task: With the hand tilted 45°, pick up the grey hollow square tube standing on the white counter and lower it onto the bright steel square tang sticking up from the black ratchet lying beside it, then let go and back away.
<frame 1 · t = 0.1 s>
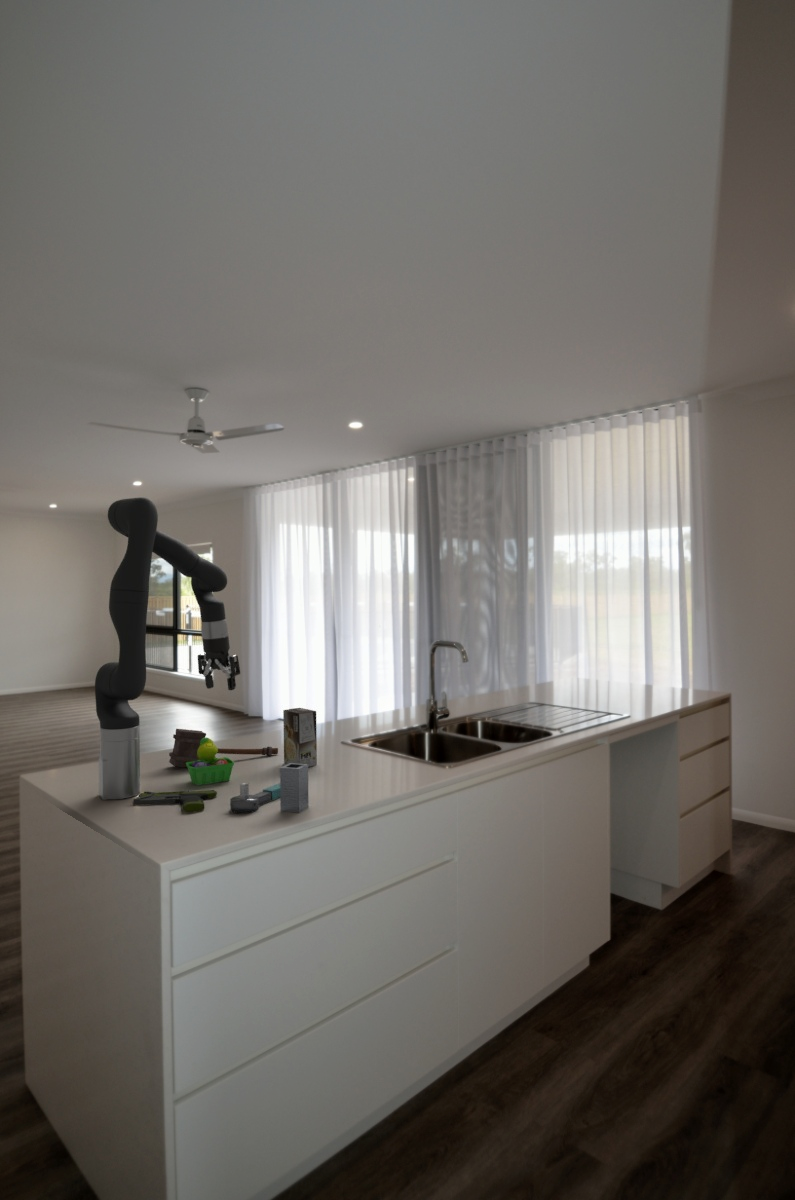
hand: (221, 688, 204), 22 cm above the countertop, tool pointing down, fingers open, 8 cm apart
grey hollow square tube: (294, 808, 160), on the countertop
fruit basket: (209, 781, 186), on the countertop
hammer: (226, 762, 208), on the countertop
ratchet: (244, 809, 160), on the countertop
gun: (172, 806, 165), on the countertop
coffee box: (300, 764, 203), on the countertop
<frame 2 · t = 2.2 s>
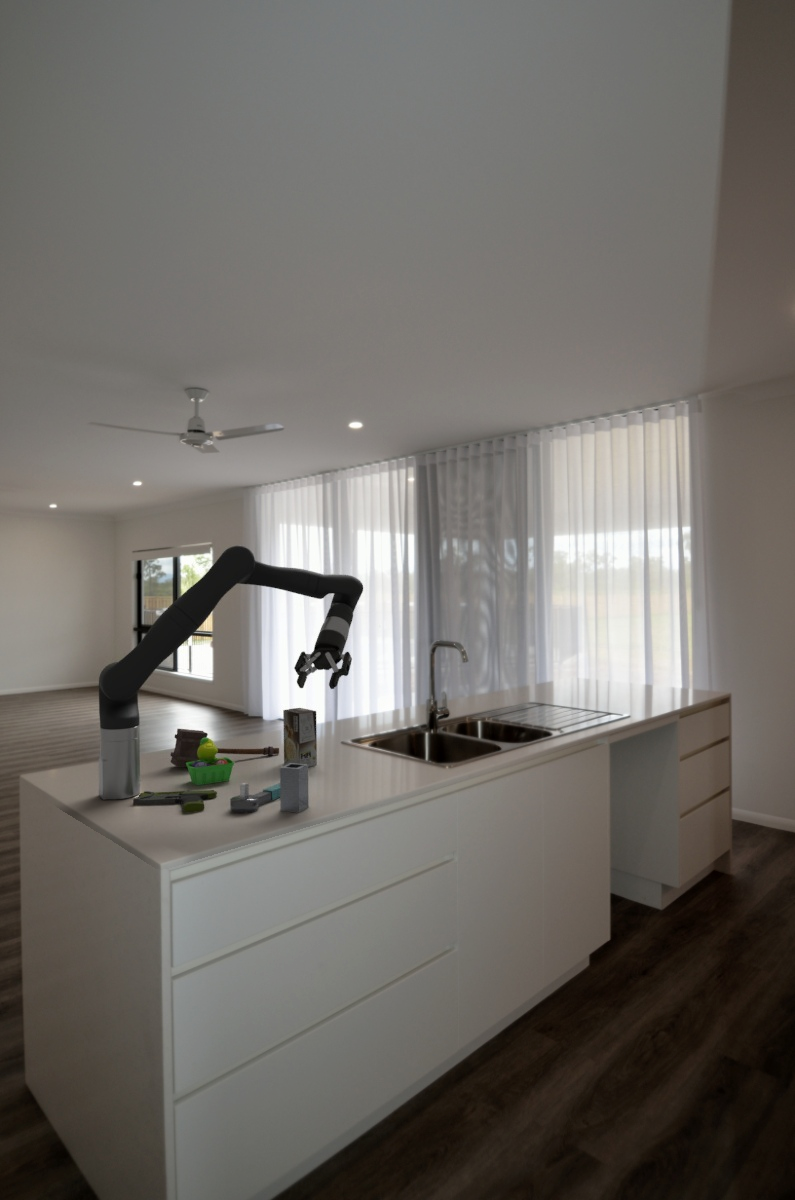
hand: (315, 686, 172), 27 cm above the countertop, tool tilted 45°, fingers open, 8 cm apart
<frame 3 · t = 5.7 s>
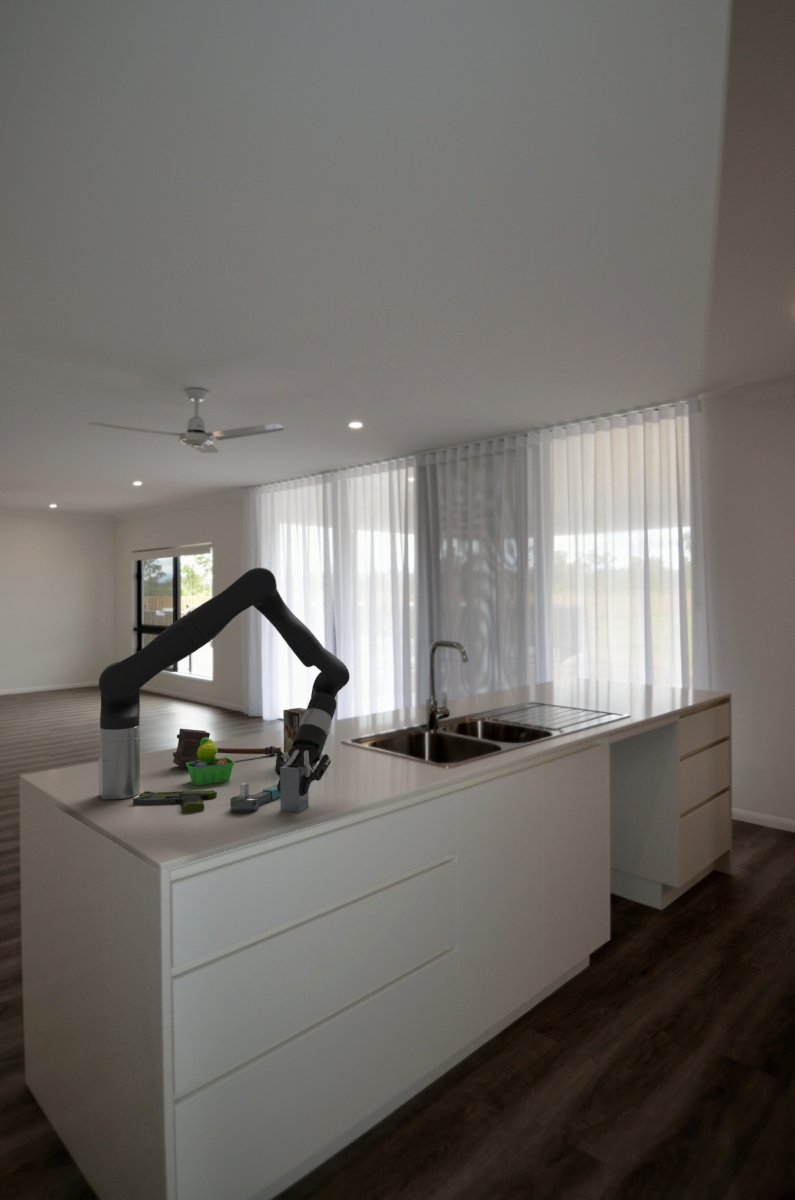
hand: (290, 793, 158), 4 cm above the countertop, tool tilted 45°, fingers closed on grey hollow square tube, 4 cm apart
grey hollow square tube: (294, 808, 160), on the countertop, touching gripper
when the fingers open (8 cm above the countertop, at t = 10.5 s): grey hollow square tube drops 1 cm, resting on ratchet.
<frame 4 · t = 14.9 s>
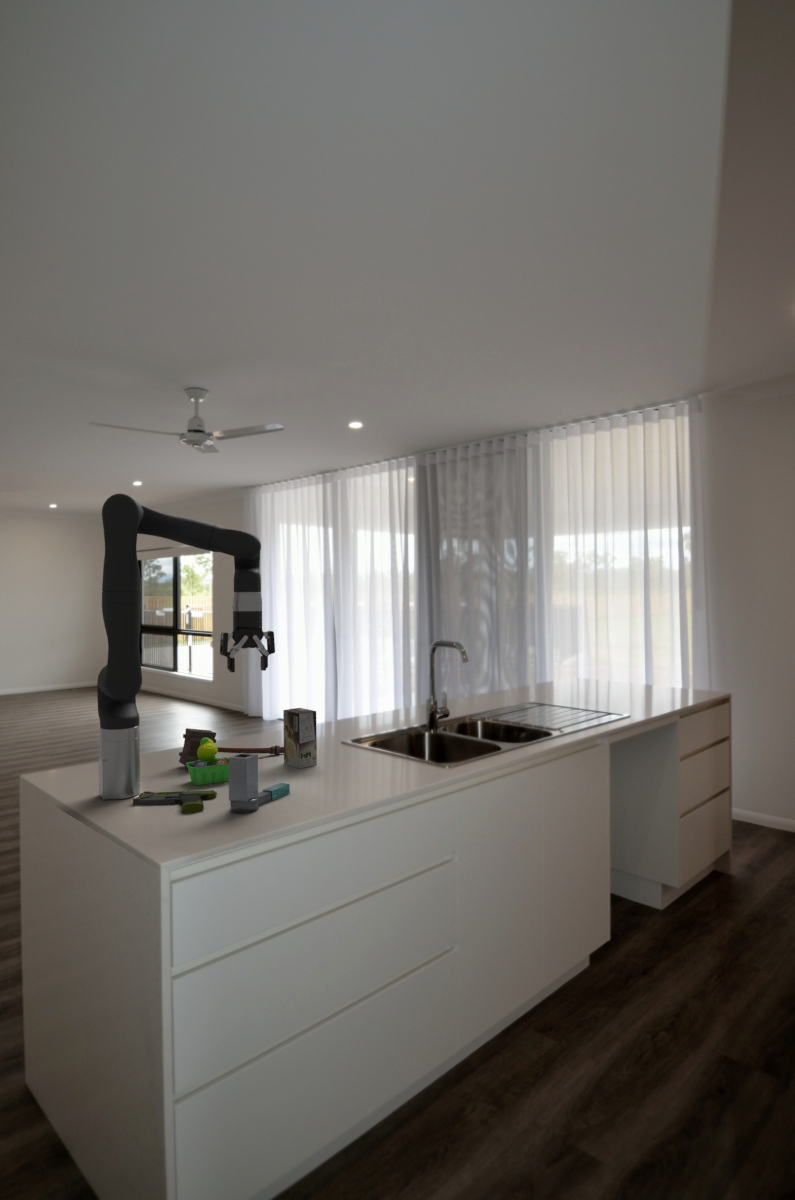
hand: (248, 671, 180), 30 cm above the countertop, tool pointing down, fingers open, 8 cm apart
grey hollow square tube: (243, 798, 160), point 2 cm above the countertop, touching ratchet
hammer: (235, 761, 209), on the countertop
everything else where it was.
at the end: grey hollow square tube 0.1 cm off-centre on the ratchet, point 2.5 cm above the ratchet's base; grey hollow square tube tilted 0°; the gripper is holding nothing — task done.
